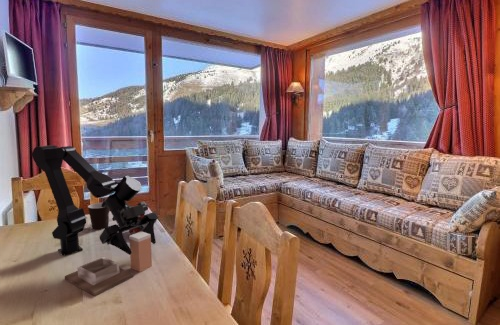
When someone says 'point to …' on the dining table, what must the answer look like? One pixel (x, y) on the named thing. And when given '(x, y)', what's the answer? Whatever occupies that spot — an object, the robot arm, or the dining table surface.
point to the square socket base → (98, 276)
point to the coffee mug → (98, 216)
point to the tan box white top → (140, 251)
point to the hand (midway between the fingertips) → (143, 248)
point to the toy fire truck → (137, 229)
